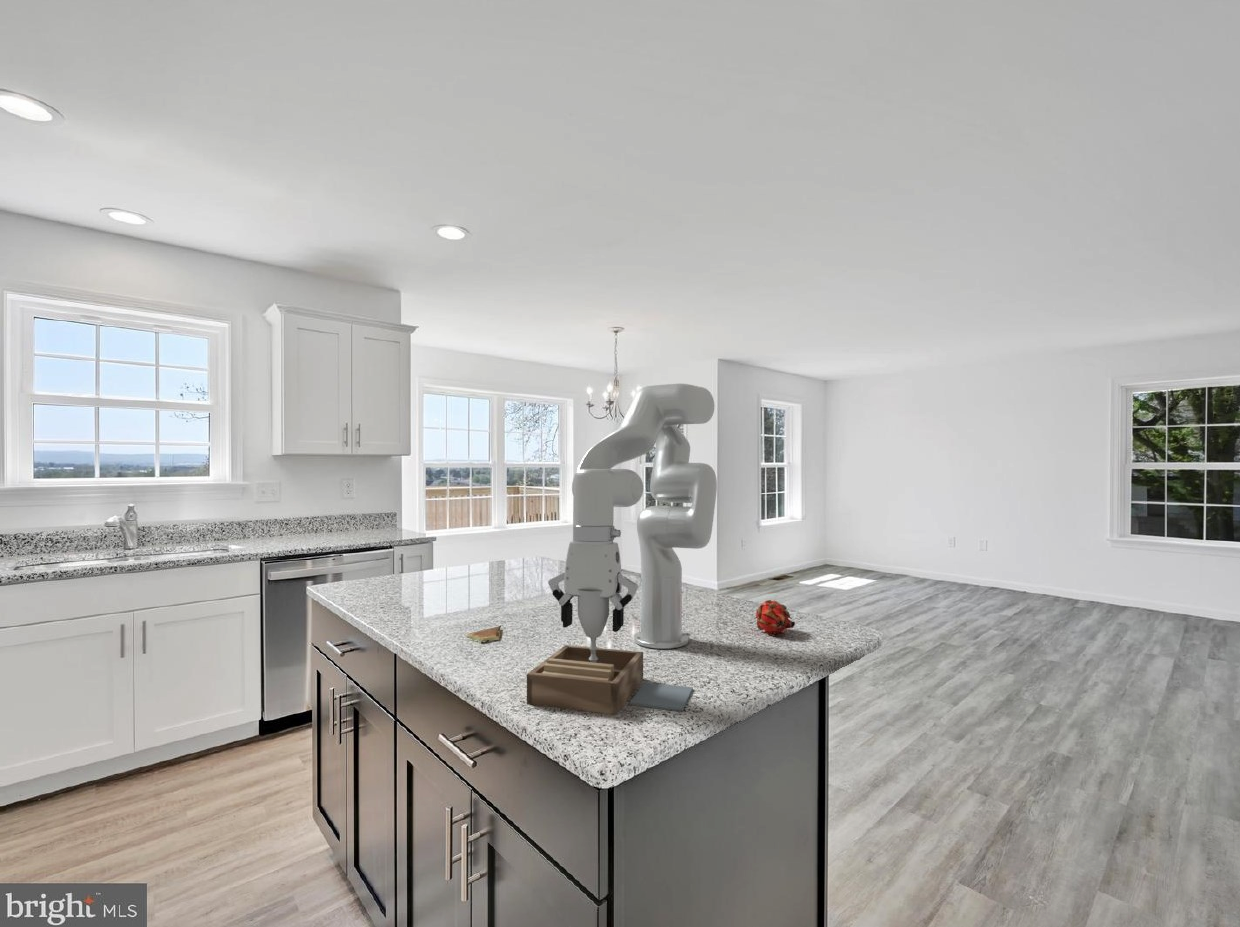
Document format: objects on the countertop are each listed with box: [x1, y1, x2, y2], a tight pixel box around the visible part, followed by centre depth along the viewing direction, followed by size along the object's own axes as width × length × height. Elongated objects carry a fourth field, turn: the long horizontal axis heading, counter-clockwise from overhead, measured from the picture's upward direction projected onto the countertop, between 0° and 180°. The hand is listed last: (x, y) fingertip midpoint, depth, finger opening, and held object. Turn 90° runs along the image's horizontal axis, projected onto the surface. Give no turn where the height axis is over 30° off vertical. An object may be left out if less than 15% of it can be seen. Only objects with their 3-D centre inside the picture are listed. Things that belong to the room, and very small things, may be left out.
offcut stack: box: [542, 657, 614, 681], centre depth 100 cm, size 4×12×6 cm, turn 73°
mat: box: [629, 681, 694, 712], centre depth 102 cm, size 10×9×1 cm
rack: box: [526, 644, 644, 716], centre depth 105 cm, size 18×16×5 cm
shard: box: [465, 625, 502, 643], centre depth 140 cm, size 11×8×2 cm
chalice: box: [577, 590, 610, 663], centre depth 108 cm, size 7×7×18 cm
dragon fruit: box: [755, 599, 796, 637], centre depth 143 cm, size 8×8×12 cm
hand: (591, 628), depth 107 cm, fingers open, 9 cm apart
